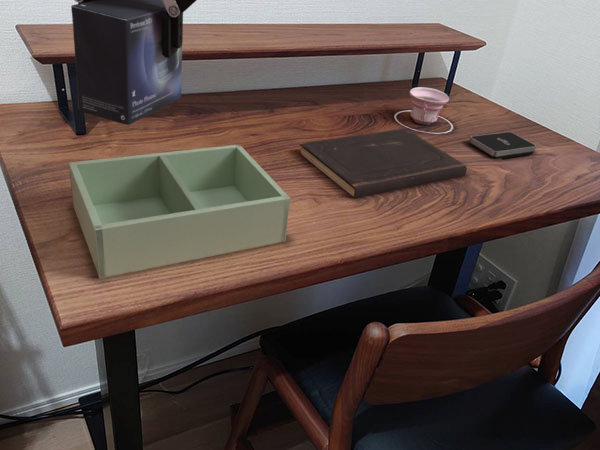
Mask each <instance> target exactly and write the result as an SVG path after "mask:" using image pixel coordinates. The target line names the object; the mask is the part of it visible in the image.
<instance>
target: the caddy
mask: <svg viewBox="0 0 600 450" xmlns="http://www.w3.org/2000/svg"><path fill="white" fill-rule="evenodd" d="M68 170H69V178H70V179H69V180H70V186H71V187H70V188H71V197H72V205H73V209H74V212H75V215H76V217H77V220H78V223H79V226H80V228H81V232H82V234H83V237H84V240H85V242H86V246H87V248H88V251H89V253H90V257H91V260H92V262H93V265H94V268H95V270H96V271H95V272H96V274H97V276H98V279H99V280H102V279H105V278H110V277H115V276H121V275H126V274H131V273H135V272H140V271H145V270H151V269H155V268H161V267H165V266H169V265H170V266H171V265H175V264H180V263H181V264H182V263H185V262H191V261H196V260H200V259H204V258H211V257H215V256H221V255H225V254H230V253H234V252H235V253H236V252H239V251H240V252H241V251H244V250H245V251H246V250H250V249H254V248H259V247H265V246H270V245H274V244H280V243H285V242H286V238H287V230H288V223H289V215H290V207H291V206H290V205H291V197H290V196H289V195H288V194H287V193H286V191H284V190H283V188H281V186H280V185H279V184H278V183H276V181H275V180H274V179H273V178H272V177H271V176H270V175H269V173H267V172H266V171H265V170H264V169H263V168H262V167H261V165H260V164H259V163H258V162H257V161H256V160H255V158H253V157H252V156H251V154H249V153H248V152H247V151H246V150H245V148H243V146H241V144H230V145H221V146H212V147H211V146H210V147H201V148H194V149H193V148H192V149H184V150H173V151H165V152H155V153H146V154H136V155H127V156H118V157H108V158H99V159H98V158H97V159H90V160H81V161H71V162H68Z"/></svg>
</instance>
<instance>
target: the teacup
mask: <svg viewBox="0 0 600 450" xmlns="http://www.w3.org/2000/svg"><path fill="white" fill-rule="evenodd" d="M408 93H409V97H410V99H411V104H412V108H411V109H408V110H401V111H398V112H395V114H394V118H393V119H395V121H396V122H397V123H398V124H399V125H401V126H403V127H404V128H406V129H407V128H408V129H409V130H413V131H416V132H419V133H425V134H430V132H429V131H424V130H418V129H414V128H412V127H409V126H406V125H405V124H403V123H402V122H400V121H399V120H398V119H397V116H398V115H399V114H402V113H404V112H410V117H411V118H412V119H413V121H414V122H415V123H417V124H419V125H424V126H430V125H432V123H433V124H434V123H436V122H437V121H438V118H440V119H443V120H444V121H446V122H447V123H448V124H449V125H450V129H449V130H447V131H443V132H431V134H434V135H441V134H442V135H443V134H447V133H450V132H452V131H453V130H454V124H453V123H452V122H451V121H449V120H448V119H447V118H445V117H443V116H441V115H439V113H440V112H441V110H443V109H444V106H445V105H446V104H448V103H449V101H450V97H449V95H448V94H447V93H445V92H443V91H442V90H439V89H436V88H432V87H425V86H424V87H423V86H418V87H413V88H411V89H410V90H409V92H408Z"/></svg>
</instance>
